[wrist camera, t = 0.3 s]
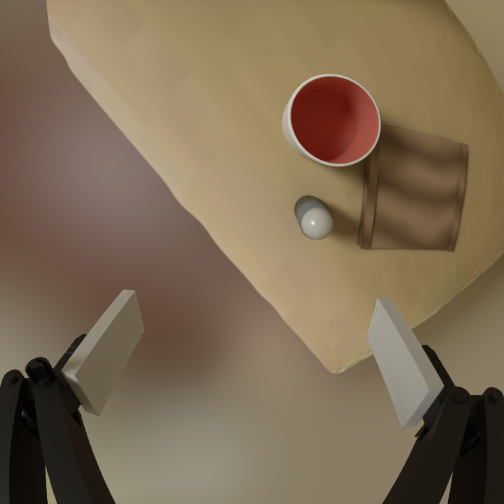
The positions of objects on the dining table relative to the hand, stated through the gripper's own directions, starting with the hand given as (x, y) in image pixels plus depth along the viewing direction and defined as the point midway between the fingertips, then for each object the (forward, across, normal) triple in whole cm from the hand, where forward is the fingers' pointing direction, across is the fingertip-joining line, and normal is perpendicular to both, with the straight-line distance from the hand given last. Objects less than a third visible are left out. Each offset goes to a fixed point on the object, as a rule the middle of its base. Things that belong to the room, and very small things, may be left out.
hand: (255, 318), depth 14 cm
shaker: (+26, +7, 0) cm, 27 cm away
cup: (+26, +8, +12) cm, 30 cm away
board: (+26, +24, +4) cm, 35 cm away
